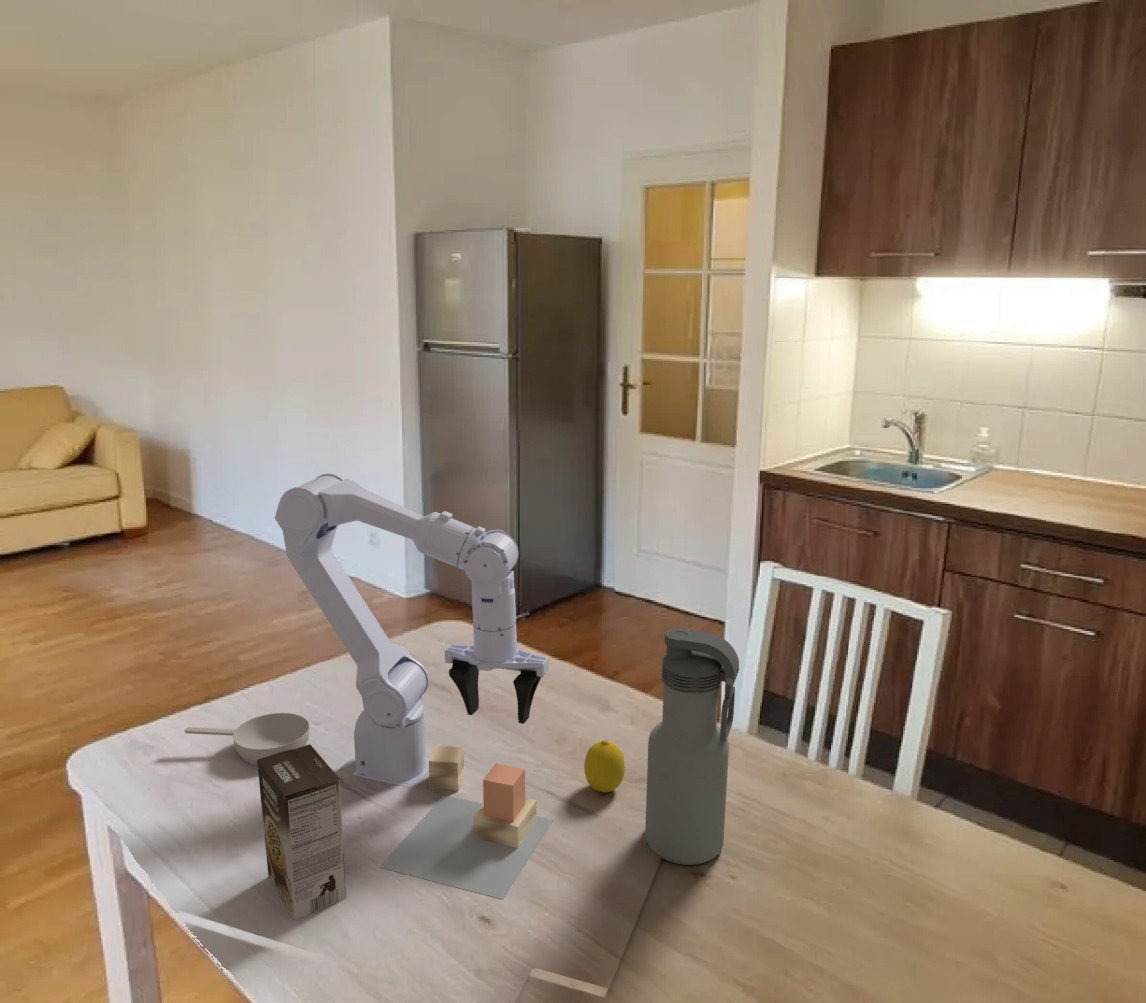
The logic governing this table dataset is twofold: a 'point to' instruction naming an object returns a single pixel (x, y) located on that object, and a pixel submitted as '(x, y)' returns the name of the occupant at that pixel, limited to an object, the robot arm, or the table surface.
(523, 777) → the terracotta block
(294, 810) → the coffee box
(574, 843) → the table surface
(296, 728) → the small pan
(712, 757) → the water bottle
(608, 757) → the lemon
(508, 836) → the block
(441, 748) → the birch block
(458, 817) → the board
